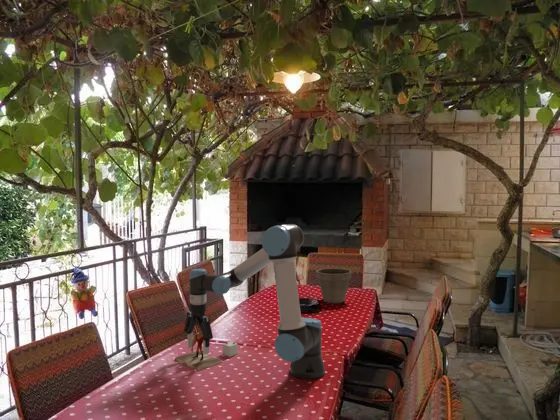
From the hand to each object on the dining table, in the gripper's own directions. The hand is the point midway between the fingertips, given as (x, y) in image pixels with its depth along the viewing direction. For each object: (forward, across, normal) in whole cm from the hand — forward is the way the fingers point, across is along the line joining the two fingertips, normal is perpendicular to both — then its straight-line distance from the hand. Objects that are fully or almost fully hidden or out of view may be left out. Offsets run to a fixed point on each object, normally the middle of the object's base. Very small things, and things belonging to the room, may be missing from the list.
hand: (198, 350), depth 203 cm
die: (+5, +4, +16) cm, 17 cm away
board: (+5, 0, 0) cm, 5 cm away
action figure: (+4, 0, 0) cm, 4 cm away
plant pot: (+5, -20, +135) cm, 137 cm away
